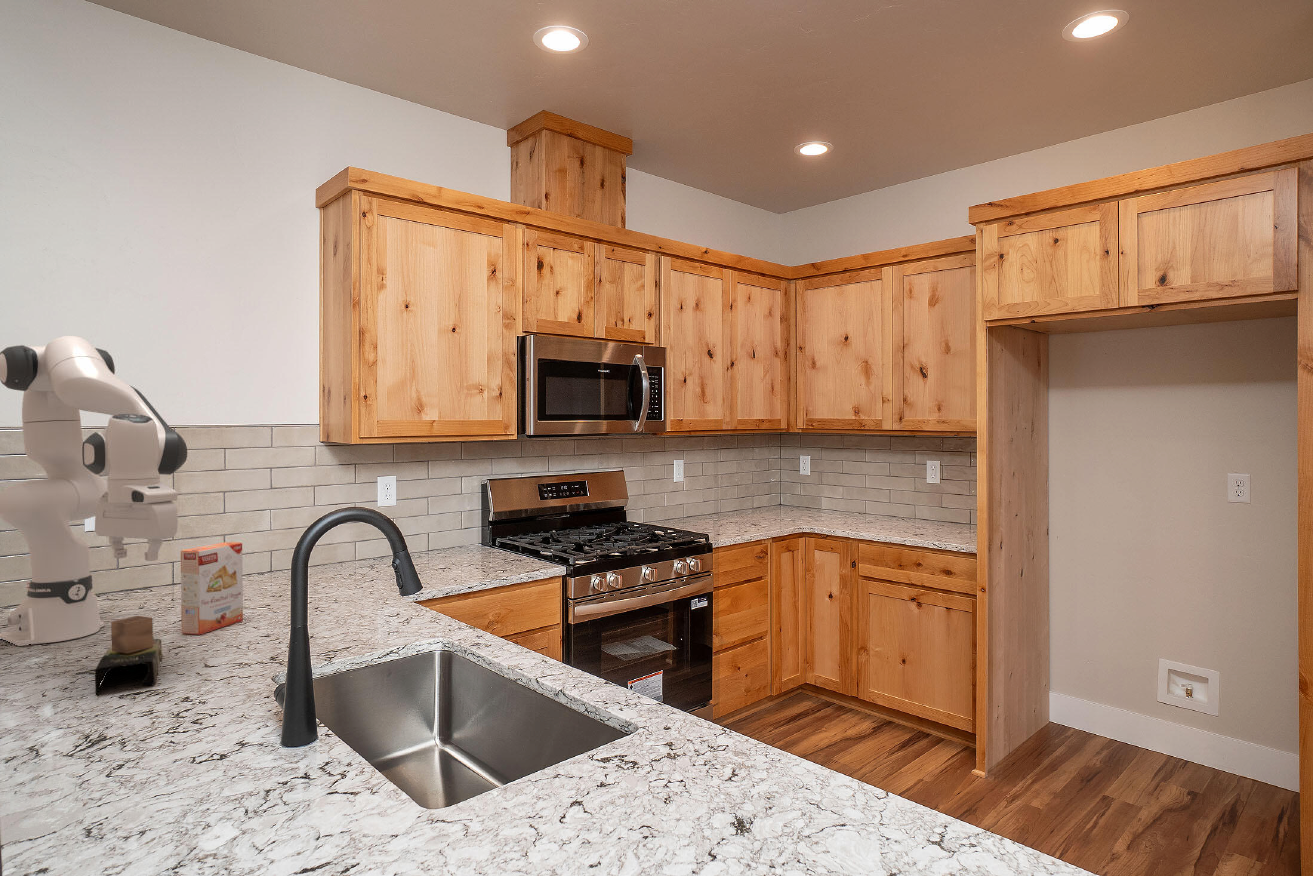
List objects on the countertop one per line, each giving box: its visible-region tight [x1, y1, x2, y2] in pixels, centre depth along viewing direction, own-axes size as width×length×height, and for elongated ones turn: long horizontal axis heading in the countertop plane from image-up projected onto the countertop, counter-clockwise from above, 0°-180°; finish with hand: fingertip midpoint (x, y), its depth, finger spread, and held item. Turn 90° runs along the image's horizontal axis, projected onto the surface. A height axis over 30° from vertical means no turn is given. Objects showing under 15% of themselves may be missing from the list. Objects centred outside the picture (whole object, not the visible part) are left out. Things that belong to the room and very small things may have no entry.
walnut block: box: [110, 615, 154, 654], centre depth 147 cm, size 5×5×6 cm
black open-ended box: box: [94, 638, 164, 696], centre depth 146 cm, size 20×10×6 cm, turn 31°
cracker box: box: [180, 541, 244, 636], centre depth 183 cm, size 14×6×21 cm, turn 168°
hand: (135, 559), depth 149 cm, fingers open, 8 cm apart
